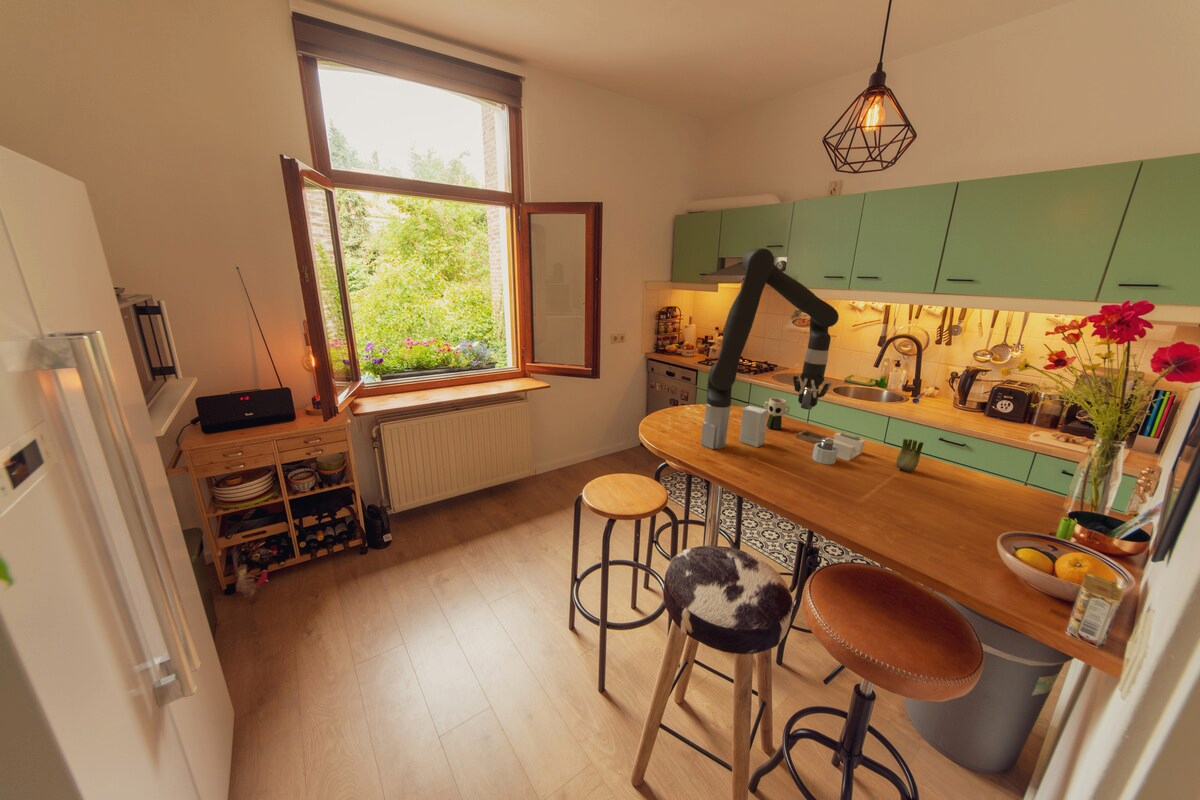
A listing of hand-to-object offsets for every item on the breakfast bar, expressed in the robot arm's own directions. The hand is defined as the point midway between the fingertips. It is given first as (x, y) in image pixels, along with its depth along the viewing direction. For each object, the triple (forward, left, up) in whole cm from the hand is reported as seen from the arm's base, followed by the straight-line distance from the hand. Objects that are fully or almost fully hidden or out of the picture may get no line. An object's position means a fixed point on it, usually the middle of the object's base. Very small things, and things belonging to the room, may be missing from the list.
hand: (807, 404), depth 164 cm
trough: (+13, 0, -19) cm, 23 cm away
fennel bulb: (+15, -32, -19) cm, 40 cm away
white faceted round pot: (-3, -11, -19) cm, 22 cm away
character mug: (+14, +19, -19) cm, 30 cm away
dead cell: (-3, -11, -18) cm, 21 cm away
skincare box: (-10, +15, -19) cm, 26 cm away
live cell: (0, 0, -1) cm, 1 cm away
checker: (+10, -12, -19) cm, 25 cm away
